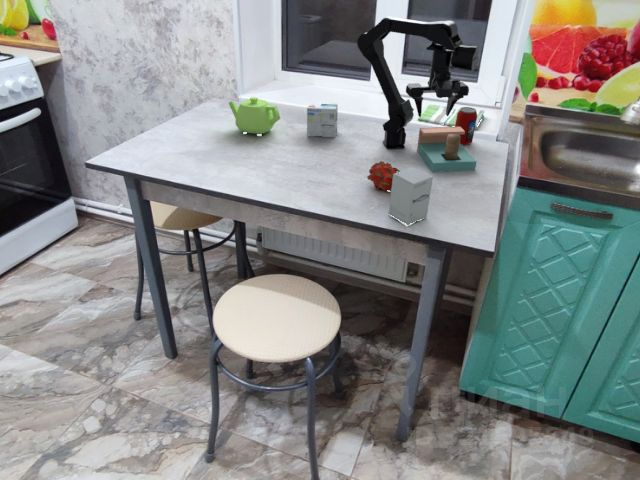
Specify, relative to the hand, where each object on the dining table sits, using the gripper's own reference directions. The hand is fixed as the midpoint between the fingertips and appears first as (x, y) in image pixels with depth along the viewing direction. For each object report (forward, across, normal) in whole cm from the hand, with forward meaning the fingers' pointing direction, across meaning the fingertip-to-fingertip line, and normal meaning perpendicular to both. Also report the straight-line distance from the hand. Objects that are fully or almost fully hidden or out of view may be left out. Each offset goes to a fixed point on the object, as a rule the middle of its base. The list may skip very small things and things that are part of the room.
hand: (433, 116), depth 154 cm
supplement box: (+13, -18, -40) cm, 46 cm away
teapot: (+13, -58, +26) cm, 65 cm away
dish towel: (+14, +19, +32) cm, 40 cm away
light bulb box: (+13, -34, +21) cm, 42 cm away
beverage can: (+13, +15, +8) cm, 22 cm away
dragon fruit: (+13, -20, -23) cm, 33 cm away
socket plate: (+13, +4, -6) cm, 15 cm away
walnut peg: (+13, +4, -10) cm, 17 cm away
